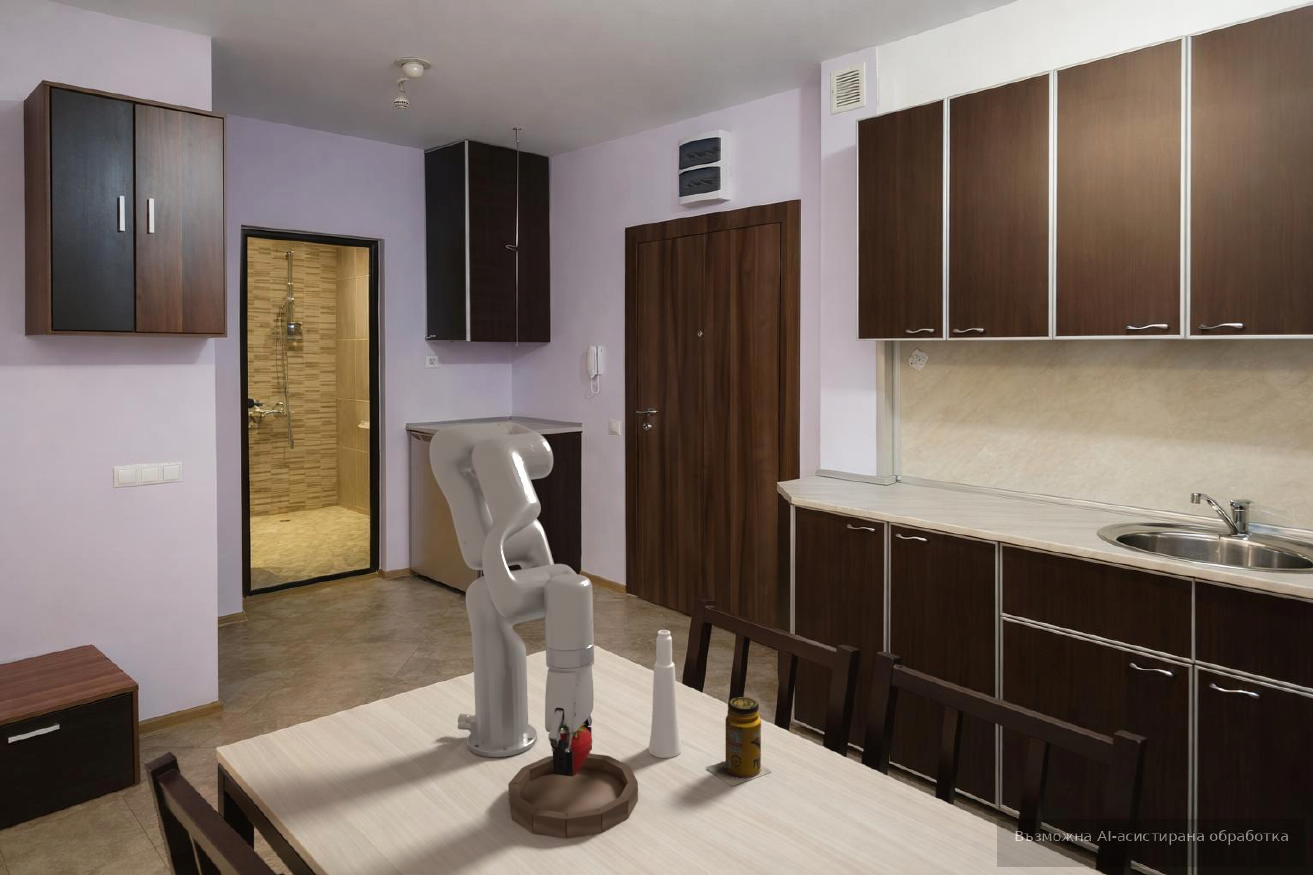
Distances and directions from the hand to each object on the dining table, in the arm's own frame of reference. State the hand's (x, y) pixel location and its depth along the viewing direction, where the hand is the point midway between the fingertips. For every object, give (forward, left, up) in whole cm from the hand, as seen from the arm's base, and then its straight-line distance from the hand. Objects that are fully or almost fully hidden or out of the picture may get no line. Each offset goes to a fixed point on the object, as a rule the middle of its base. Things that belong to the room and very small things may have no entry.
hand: (573, 761), depth 132 cm
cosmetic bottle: (+10, +20, -7) cm, 23 cm away
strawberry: (0, 0, -3) cm, 3 cm away
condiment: (+24, +16, -7) cm, 30 cm away
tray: (0, 0, -7) cm, 7 cm away
